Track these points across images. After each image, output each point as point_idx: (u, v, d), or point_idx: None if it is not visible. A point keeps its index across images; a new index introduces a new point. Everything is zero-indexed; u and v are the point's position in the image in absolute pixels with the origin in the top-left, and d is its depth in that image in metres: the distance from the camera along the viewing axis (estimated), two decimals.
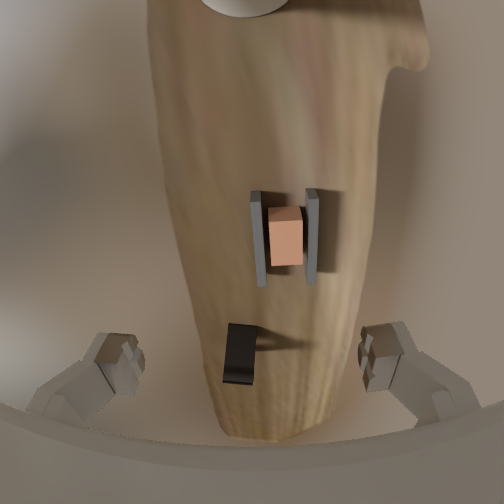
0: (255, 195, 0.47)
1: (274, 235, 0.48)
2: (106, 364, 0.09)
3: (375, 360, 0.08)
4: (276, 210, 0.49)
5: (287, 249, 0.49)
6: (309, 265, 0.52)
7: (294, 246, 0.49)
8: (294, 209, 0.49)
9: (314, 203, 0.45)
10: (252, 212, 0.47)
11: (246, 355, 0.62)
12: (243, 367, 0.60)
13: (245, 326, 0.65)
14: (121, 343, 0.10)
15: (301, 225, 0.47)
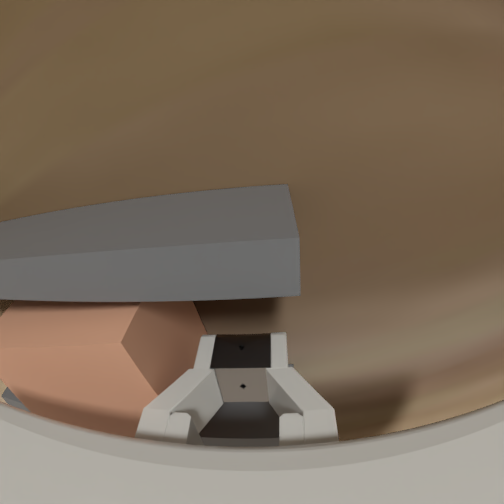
0: None
1: (72, 364, 0.08)
2: (225, 370, 0.09)
3: (239, 370, 0.09)
4: None
5: (53, 398, 0.09)
6: None
7: (77, 415, 0.09)
8: None
9: None
10: (220, 251, 0.07)
11: None
12: None
13: None
14: (237, 345, 0.10)
15: None
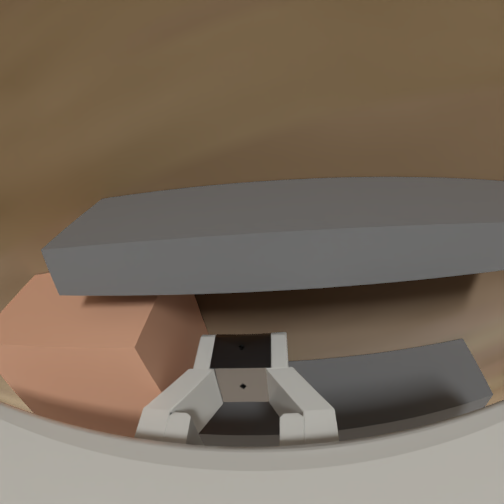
0: None
1: (80, 365, 0.08)
2: (225, 370, 0.09)
3: (239, 370, 0.09)
4: (181, 301, 0.11)
5: (55, 396, 0.09)
6: (230, 438, 0.11)
7: (78, 414, 0.09)
8: None
9: (475, 408, 0.10)
10: None
11: None
12: None
13: None
14: (237, 345, 0.10)
15: None
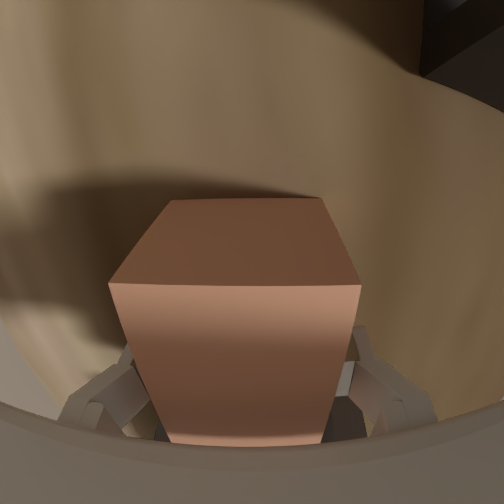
0: None
1: (300, 435, 0.08)
2: None
3: None
4: None
5: (233, 387, 0.07)
6: None
7: (194, 395, 0.08)
8: None
9: None
10: None
11: None
12: None
13: (480, 98, 0.07)
14: None
15: None
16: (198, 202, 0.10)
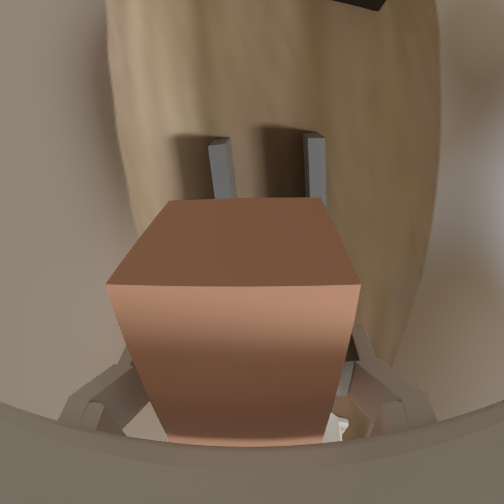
0: None
1: (300, 436, 0.08)
2: None
3: None
4: None
5: (232, 388, 0.07)
6: (227, 189, 0.28)
7: (193, 396, 0.07)
8: None
9: None
10: None
11: None
12: None
13: (344, 1, 0.21)
14: None
15: None
16: (196, 202, 0.10)
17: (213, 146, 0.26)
